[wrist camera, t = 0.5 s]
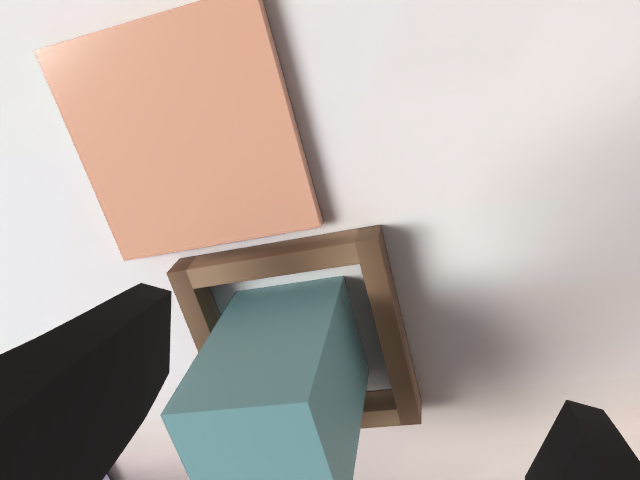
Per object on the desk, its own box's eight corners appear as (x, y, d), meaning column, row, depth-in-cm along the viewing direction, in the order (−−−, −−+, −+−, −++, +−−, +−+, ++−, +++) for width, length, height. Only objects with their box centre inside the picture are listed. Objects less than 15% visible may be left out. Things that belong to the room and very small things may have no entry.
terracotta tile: (130, 255, 22) (124, 261, 22) (42, 48, 19) (33, 50, 19) (323, 221, 20) (320, 227, 20) (258, -16, 17) (253, -16, 17)
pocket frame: (241, 417, 25) (232, 437, 24) (179, 258, 22) (166, 273, 21) (421, 402, 23) (421, 424, 22) (380, 224, 20) (377, 238, 19)
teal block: (267, 380, 24) (210, 524, 17) (236, 291, 22) (160, 414, 16) (369, 370, 23) (346, 520, 16) (343, 275, 21) (307, 402, 15)
